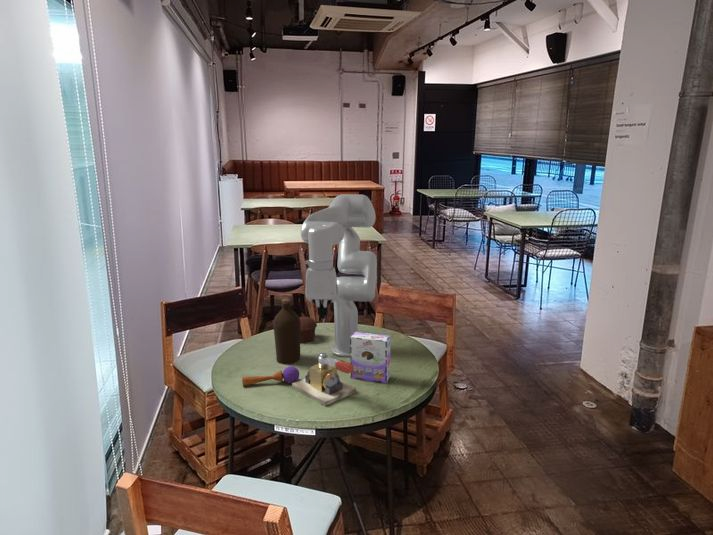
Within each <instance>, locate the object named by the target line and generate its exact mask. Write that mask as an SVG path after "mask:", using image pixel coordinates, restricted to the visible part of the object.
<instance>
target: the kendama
mask: <svg viewBox="0 0 713 535" xmlns="http://www.w3.org/2000/svg"><path fill="white" fill-rule="evenodd" d="M241 378H242V381H241V382H242V387H247V386H250V385H254V384H259V383H262V382H266V381H270V380H274V381H278V382H282V383H283V382H286V383H288V384H292V383H295V382H297V381H299V378H300V370H299V369H298V367H296V366H293V365H289V366H287V367H285V368H284V369H283V371H282V370H279V371H278V372H276V373H275V374H273V375H262V376H242V377H241Z"/></svg>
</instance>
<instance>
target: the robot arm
mask: <svg viewBox="0 0 713 535" xmlns="http://www.w3.org/2000/svg"><path fill="white" fill-rule="evenodd" d="M375 211H376V210H375V208H374V205H373V204H372V201H371V200H370V198H369V197H368V196H367V195H365V194H355V193H353V194H351V193H348V194H347V193H344V194H343V193H342V194H339V195H337V196H335V198H333V200H332V201H331V203H330V205H329V206H328V207H327V208H324V209H320V210H318V211H316V212H313V213H311V214H309V215H308V216H307V217H306V218H305V220H304V221H303V223H302V225H301V228H300V238H301V240H302V241H303V242H304V243H305V244H308V259H307V260H305V261H304V263H305V264H304V265H307V266H308V268H306V273H305V274H306V275H305V287H304V289H305V293H304V294H305V300H306V301H309V302H312V303H313V304H314V305H315V307H316V308H317V316H319V317H318V318H319V319H320V320H321V319H322V320H324V319H325V318H326V317H327V316H328V313H329V312H328V307H329V305H331V303H333V309H334V310H333V312H334V314H333V316H334V318H333V319H334V321H333V322H334V344H333V345H332V346H331V348H330V350H331V351H330V352H331V353H332V354H333V355H335V356H337V357H341V358H342V357H348V358H349V357H350V337H351V336H352V335H353V334H354V332H359V324H358V321H359V320H358V316H359V312H358V308H357V305H356V304H355V303H354V302H366V303H367V302H372V301H373V300H374V298H375V295H376V285H377V268H378V261H377V260H378V259H377V256H376V254H375V252H374V251H369V250H368V251H367V250H360V247H361V246H360V245H361V239H360V236H359V234H358V233H357V231H355V229H354V228H372V227H374V224H375V222H376V212H375ZM336 245H338V254H337V269H338V271H339V272H340V273H342V274H347V275H362V276H364V277H360V276H359V277H358V276H337V272H336V268H335V267H334V265H333V264H334V262H333V246H336ZM322 301H323V303H322Z"/></svg>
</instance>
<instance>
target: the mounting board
mask: <svg viewBox="0 0 713 535" xmlns="http://www.w3.org/2000/svg"><path fill="white" fill-rule="evenodd" d="M340 382H342V383H343V389H342V390H340V391H338V392H335V393H333V394H331V395H328V394H326V392H325V391H323V392H321V391H319V390H317V389H315V388H313V387H311V385H310V384H308V383H306V382H305V377H304V378H303V379H300V380H299V379H298V380H297V381H296V382H294V383H291V387H292V388H293V389H294V390H296V391H297V392H300V393H301V394H303V395H305V396H306V397H308V398H309V399H312V400H313V399H314V400H313V401H315V400H316V401H315V402H317V403H318V402H319V403H318V404H320V403H321V404H320V405H322V404H323V405H322V406H324V407H326V405H327V406H329V405H331V404H333V403H336V402H337V400H338V401H340V400H342V399H344V398H346V397H349V396H350V395H352V394H355V393H356V392H357V387H356V386H353V385H351V384H349V383H348V382H346V381H344V380H341V379H340ZM354 392H355V393H354ZM349 394H350V395H349ZM345 396H346V397H345ZM343 397H344V398H343ZM341 398H342V399H341ZM339 399H340V400H339ZM330 403H331V404H330ZM328 404H329V405H328Z"/></svg>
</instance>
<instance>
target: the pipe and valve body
mask: <svg viewBox="0 0 713 535" xmlns="http://www.w3.org/2000/svg"><path fill="white" fill-rule="evenodd" d="M304 378H305V382H306V383H308V384H310V385H311V387H313V388H315V389H317V390H319V391H321V392H323V391H325V392H326V394H328V395H331V394H333V393H335V392H338V391H340V390H342V389H343V383H342V382H340V380H341V379H340V376H339V374H338V370H337V369H335V367H333V366H331V365H328V367H326V368H320V367H319V363H316V364H313V365H312V366H310V367H309V370H307V374H306V375H305V376H304Z"/></svg>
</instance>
